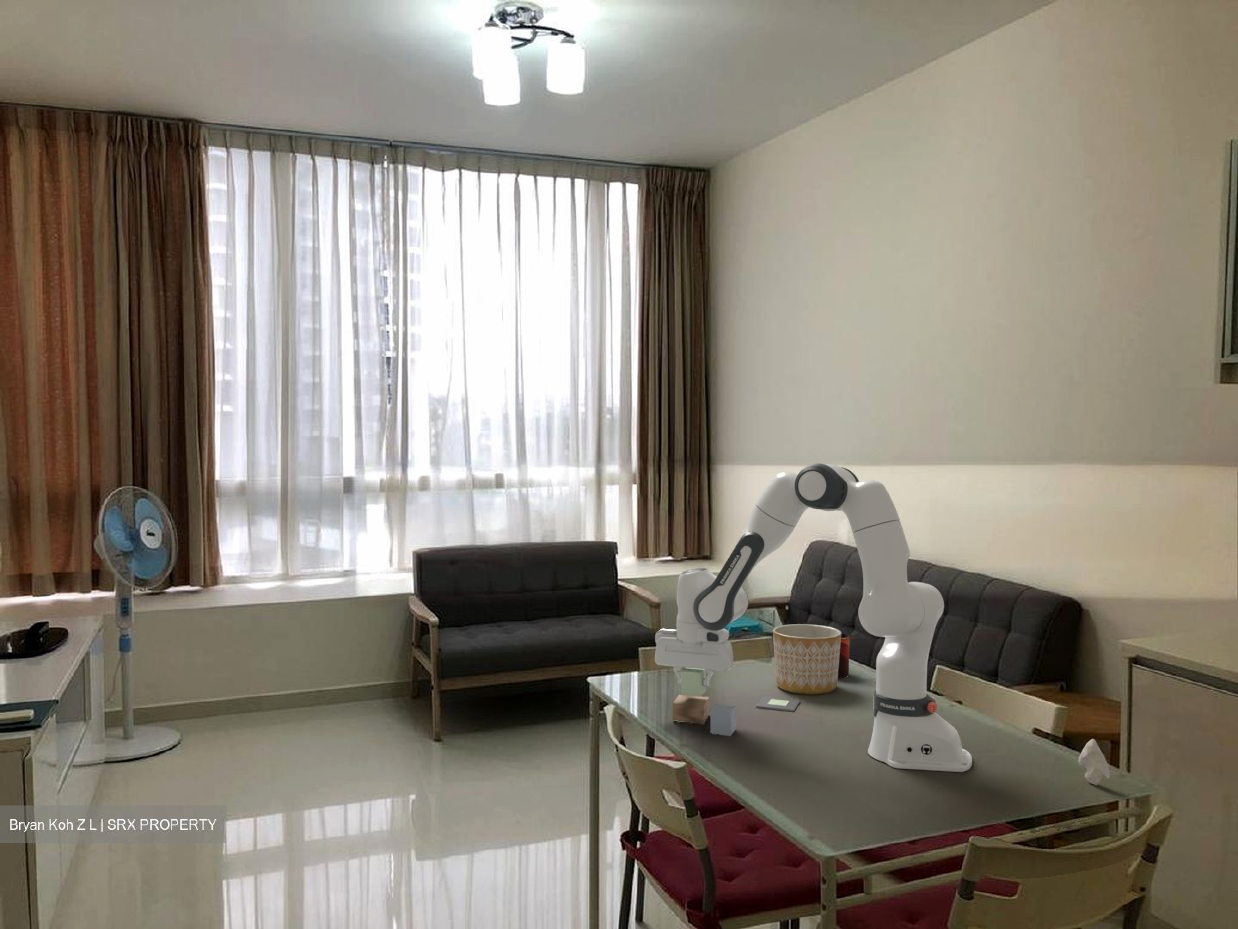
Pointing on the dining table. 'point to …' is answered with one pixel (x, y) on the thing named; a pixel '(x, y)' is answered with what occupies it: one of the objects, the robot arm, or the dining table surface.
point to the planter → (806, 658)
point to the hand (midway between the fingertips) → (693, 684)
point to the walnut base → (691, 709)
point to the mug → (844, 657)
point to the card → (778, 703)
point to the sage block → (692, 681)
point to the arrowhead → (1094, 762)
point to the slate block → (723, 720)
